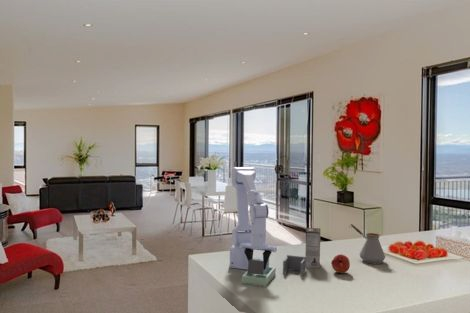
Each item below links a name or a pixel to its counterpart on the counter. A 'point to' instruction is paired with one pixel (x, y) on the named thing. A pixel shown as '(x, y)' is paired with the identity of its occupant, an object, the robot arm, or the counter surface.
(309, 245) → the coffee box
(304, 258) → the printer bay
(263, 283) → the tray
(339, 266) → the fruit
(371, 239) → the coffee pot
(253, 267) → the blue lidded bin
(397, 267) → the counter surface
